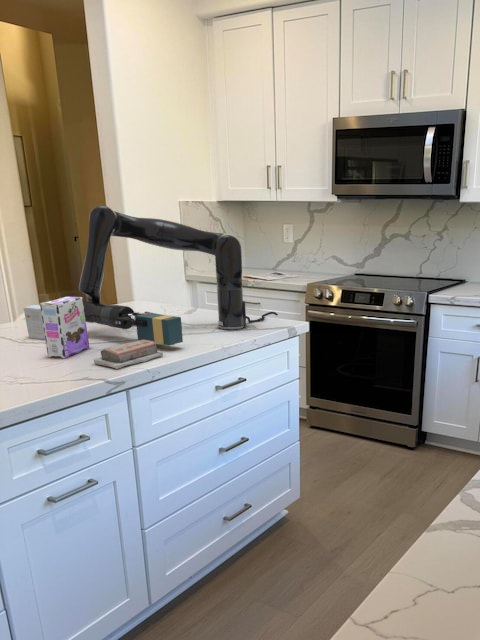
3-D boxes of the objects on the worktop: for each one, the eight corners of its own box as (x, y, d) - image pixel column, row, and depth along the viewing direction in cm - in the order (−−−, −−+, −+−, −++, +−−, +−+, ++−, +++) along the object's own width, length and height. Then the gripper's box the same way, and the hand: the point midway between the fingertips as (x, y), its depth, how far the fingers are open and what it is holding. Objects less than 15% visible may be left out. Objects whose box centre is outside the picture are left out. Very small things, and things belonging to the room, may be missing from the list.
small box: (58, 336, 209) (53, 306, 205) (45, 340, 205) (40, 308, 201) (41, 334, 212) (36, 304, 208) (28, 337, 208) (23, 306, 204)
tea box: (137, 340, 197) (135, 315, 194) (151, 336, 202) (149, 312, 199) (169, 345, 191) (167, 320, 188) (183, 342, 196) (180, 316, 192)
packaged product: (139, 336, 189) (162, 341, 184) (140, 352, 191) (163, 356, 186) (91, 348, 175) (114, 353, 170) (93, 364, 177) (116, 369, 172)
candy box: (64, 358, 182) (56, 303, 176) (47, 357, 183) (38, 302, 177) (90, 348, 195) (83, 296, 189) (73, 347, 196) (66, 295, 190)
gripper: (98, 308, 196) (135, 313, 188) (132, 302, 207) (168, 306, 199) (101, 331, 199) (138, 337, 191) (135, 323, 210) (170, 329, 202)
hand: (153, 322), depth 195 cm, fingers closed on tea box, 6 cm apart
